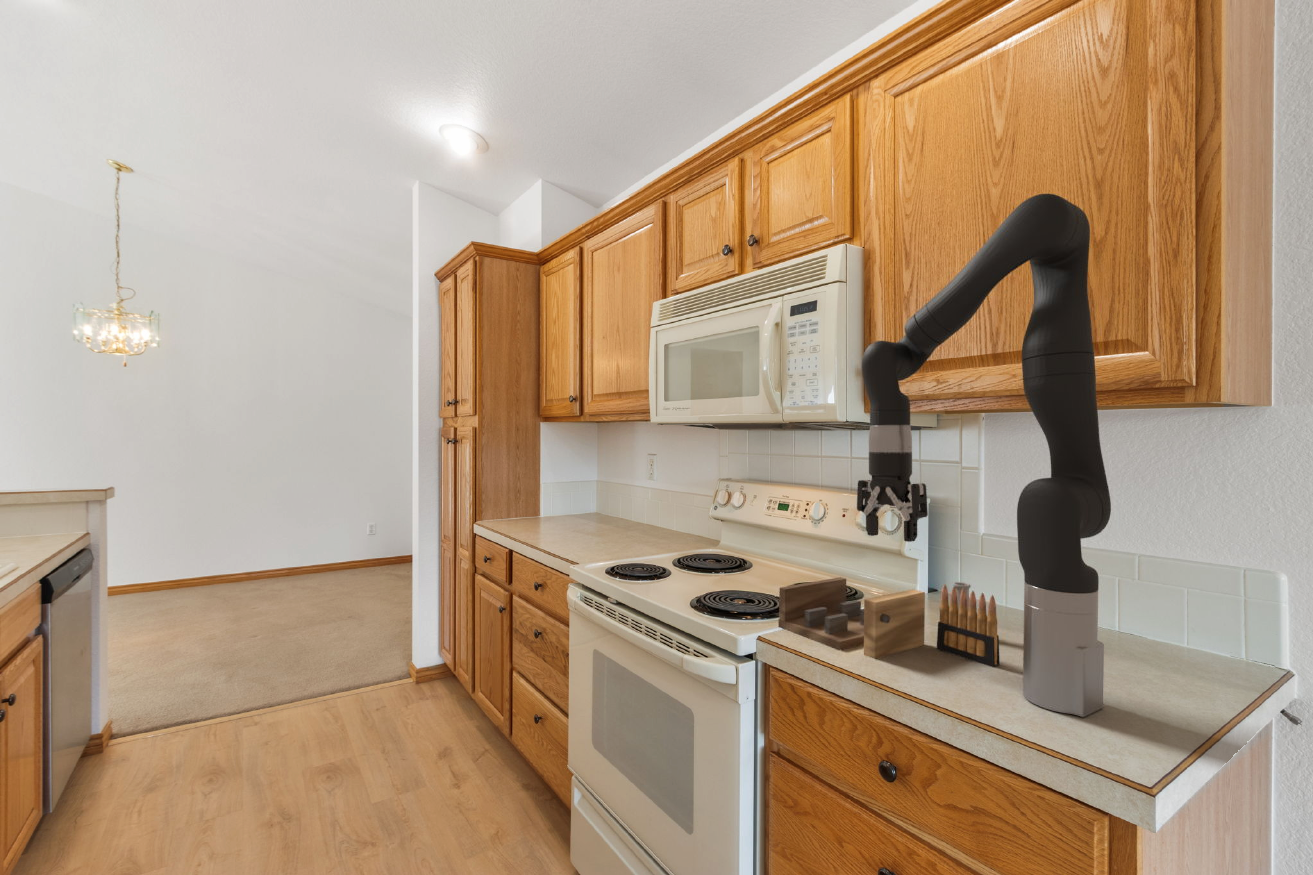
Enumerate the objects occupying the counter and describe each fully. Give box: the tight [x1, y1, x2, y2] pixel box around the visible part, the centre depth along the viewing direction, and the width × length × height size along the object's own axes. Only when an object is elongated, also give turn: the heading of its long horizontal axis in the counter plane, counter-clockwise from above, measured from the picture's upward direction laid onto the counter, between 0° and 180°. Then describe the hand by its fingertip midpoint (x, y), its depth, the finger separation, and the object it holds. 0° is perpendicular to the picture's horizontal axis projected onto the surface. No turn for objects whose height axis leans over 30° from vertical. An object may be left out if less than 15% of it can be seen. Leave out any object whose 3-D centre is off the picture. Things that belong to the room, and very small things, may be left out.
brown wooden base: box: [777, 576, 864, 651], centre depth 126 cm, size 16×18×8 cm
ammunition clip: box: [936, 584, 1001, 668], centre depth 111 cm, size 11×2×12 cm, turn 33°
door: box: [863, 588, 926, 660], centre depth 114 cm, size 3×14×10 cm, turn 122°
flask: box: [952, 581, 972, 611], centre depth 124 cm, size 7×7×10 cm
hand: (890, 538), depth 115 cm, fingers open, 8 cm apart
